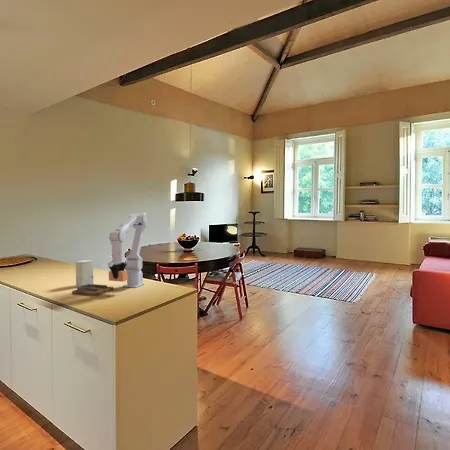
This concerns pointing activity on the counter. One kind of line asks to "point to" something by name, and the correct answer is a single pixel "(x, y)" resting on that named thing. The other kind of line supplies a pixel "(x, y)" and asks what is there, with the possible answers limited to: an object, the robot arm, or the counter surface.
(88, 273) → the skincare box
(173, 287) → the counter surface
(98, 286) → the display stand
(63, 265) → the counter surface
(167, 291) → the counter surface
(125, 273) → the terracotta cardboard box
